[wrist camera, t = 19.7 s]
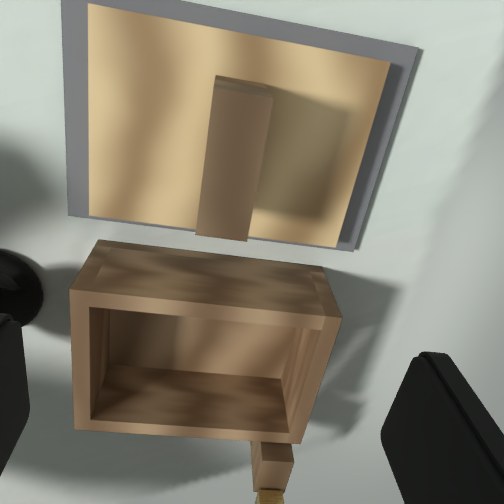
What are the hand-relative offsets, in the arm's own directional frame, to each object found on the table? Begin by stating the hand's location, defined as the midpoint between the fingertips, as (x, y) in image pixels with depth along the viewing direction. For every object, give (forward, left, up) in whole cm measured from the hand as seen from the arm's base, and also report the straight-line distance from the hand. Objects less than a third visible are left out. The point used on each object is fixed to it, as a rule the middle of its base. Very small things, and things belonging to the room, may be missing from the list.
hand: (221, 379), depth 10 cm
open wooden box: (0, -17, -22) cm, 28 cm away
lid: (0, +1, -22) cm, 22 cm away
